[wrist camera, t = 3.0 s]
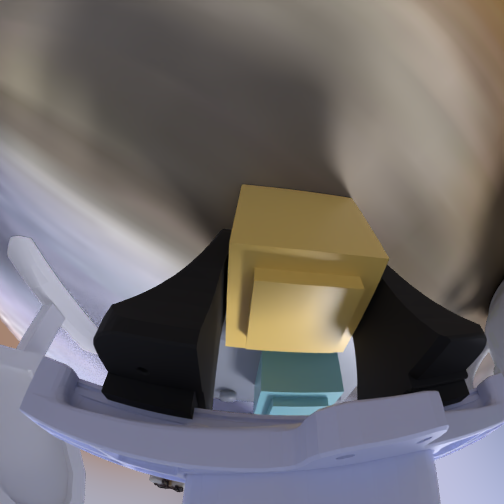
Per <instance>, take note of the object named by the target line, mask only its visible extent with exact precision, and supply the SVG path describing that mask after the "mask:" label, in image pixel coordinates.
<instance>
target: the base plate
mask: <svg viewBox="0 0 504 504" xmlns="http://www.w3.org/2000/svg"><path fill="white" fill-rule="evenodd" d="M225 343H226V315H225V319H224V323H223V327H222V333H221V338H220V346H219V354H218V362H217V370H216V378H215V387H214V397H213V398H217V399H220V400H221V401H224V402H235V401H247V402H254V407H253V414H261V415H311V414H312V413H314V412H315V411H317V410H318V409H321V408H324V407H327V406H330V405H333V404H336V403H340V402H343V401H344V400H345V399H346V398H347V396H348V395H349V394H350V393H351V392H352V390H353V389H354V388H355V387H356V386H357V368H356V357H355V349H354V342H353V337H351V339H350V341H349V342H348V344H347V346H346V348H345V349H344V351H343V352H334V353H303V352H281V351H265V350H252V349H246V348H239V347H229V346H225Z"/></svg>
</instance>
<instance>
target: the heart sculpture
mask: <svg viewBox="0 0 504 504" xmlns="http://www.w3.org/2000/svg"><path fill="white" fill-rule="evenodd" d="M7 256H8V258H9V259H10V261H11V262H12V264H13V265H14V267H15V268H16V270H17V271H18V273H19V274H20V276H21V277H22V279H23V280H24V281H25V283H26V284H27V286H28V287H29V288H30V290H31V291H32V292H33V294H34V295H35V296H36V297H37V299H38V300H39V301H40V303H41V304H42V305H43V306H42V308H41V309H40V311H39V312H38V314H37V315H36V317H35V318H34V320H33V321H32V323H31V325H30V326H29V328H28V329H27V331H26V333H25V334H24V336H23V338H22V339H21V341H20V343H19V345H18V346H17V348H16V349H14V348H10V347H7V346H4V345H0V504H84V496H85V479H86V473H85V469H84V465H83V460H82V456H81V452H80V449H79V448H77V447H75V446H73V445H71V444H69V443H66V442H64V441H62V440H60V439H58V438H56V437H55V436H53V435H51V434H50V433H48V432H47V431H46V430H44V429H43V428H41V427H40V426H39V425H37V424H36V423H34V422H33V421H32V420H31V419H29V418H28V417H27V416H25V415H24V414H23V413H22V412H20V409H19V408H20V405H21V403H22V401H23V398H24V396H25V394H26V391H27V389H28V387H29V385H30V383H31V380H32V378H33V376H34V374H35V372H36V370H37V368H38V366H39V364H40V362H41V360H42V358H43V357H44V356H45V354H46V352H47V350H48V349H49V347H50V345H51V343H52V341H53V339H54V338H55V336H56V334H57V332H58V330H59V329H60V327H62V328H63V330H64V331H65V332H66V333H67V334H68V335H69V336H70V337H71V338H72V339H73V340H74V341H75V342H76V343H77V344H78V345H79V346H80V347H81V348H82V349H83V350H84V351H87V352H90V353H93V354H96V355H98V354H97V352H96V350H95V348H94V345H93V338H94V336H95V334H96V332H97V330H98V328H97V326H96V325H95V324H94V323H93V322H92V321H91V320H90V318H89V317H88V316H87V315H86V314H85V312H84V311H83V310H82V309H81V308H80V306H79V305H78V304H77V303H76V301H75V300H74V299H73V298H72V296H71V295H70V294H69V292H68V291H67V290H66V288H65V287H64V286H63V284H62V283H61V282H60V280H59V279H58V278H57V276H56V275H55V273H54V272H53V271H52V269H51V268H50V266H49V265H48V263H47V262H46V260H45V259H44V257H43V256H42V254H41V253H40V251H39V250H38V248H37V246H36V245H35V243H34V242H33V240H32V239H31V238H27V237H23V236H12V237H11V238H10V240H9V243H8V248H7Z"/></svg>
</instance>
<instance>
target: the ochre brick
mask: <svg viewBox="0 0 504 504" xmlns="http://www.w3.org/2000/svg"><path fill="white" fill-rule="evenodd" d="M388 261H389V258H388V256H387V254H386V252H385V251H384V249H383V247H382V245H381V244H380V242H379V240H378V239H377V237H376V235H375V234H374V232H373V231H372V229H371V227H370V226H369V224H368V222H367V221H366V219H365V218H364V216H363V215H362V213H361V212H360V210H359V208H358V207H357V205H356V204H355V202H354V201H353V199H352V198H347V197H341V196H335V195H328V194H321V193H314V192H307V191H299V190H291V189H282V188H274V187H264V186H254V185H244V184H242V186H241V191H240V195H239V200H238V204H237V209H236V214H235V218H234V223H233V228H232V232H231V237H230V242H229V260H228V283H227V310H226V343H225V346H229V347H239V348H246V349H252V350H265V351H281V352H303V353H334V352H343V351H344V349H345V348H346V346H347V344H348V342H349V341H350V339H351V337H352V335H353V333H354V331H355V330H356V328H357V326H358V324H359V322H360V320H361V318H362V316H363V314H364V312H365V310H366V308H367V306H368V304H369V302H370V300H371V298H372V296H373V294H374V292H375V290H376V288H377V286H378V283H379V281H380V279H381V277H382V275H383V272H384V270H385V268H386V265H387V263H388Z"/></svg>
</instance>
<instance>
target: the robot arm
mask: <svg viewBox="0 0 504 504" xmlns="http://www.w3.org/2000/svg"><path fill="white" fill-rule="evenodd" d="M231 232H232V230H229V229H223V230H221V231H220V232H219V234H218V235H217V236H216V237H215V239H214V240H213V241H212V242H211V243H210V244H209V245H208V246H207V247H206V248H205V250H204V251H203V252H202V253H201V254H200V255H198V256H197V257H196V258H195V259H194V260H193V261H192V262H191V263H190V264H189V265H187V266H186V267H185V268H184V269H182V270H181V271H180V272H178V273H177V274H176V275H174V276H173V277H171V278H169V279H168V280H166V281H164V282H163V283H161V284H159V285H158V286H156V287H154V288H152V289H150V290H148V291H146V292H144V293H142V294H139V295H137V296H135V297H132V298H130V299H127V300H124V301H121V302H119V303H116V304H113V305H111V307H110V308H109V310H108V311H107V313H106V314H105V316H104V318H103V320H102V322H101V324H100V326H99V328H98V330H97V332H96V334H95V336H94V338H93V345H94V348H95V350H96V352H97V354H98V356H99V358H100V359H101V361H102V363H103V364H104V366H105V368H106V369H107V371H108V374H107V377H106V379H105V382H104V385H103V386H100V385H97V384H94V383H91V382H88V381H85V380H82V379H79V378H78V376H77V374H76V373H75V371H74V370H73V369H72V368H70V367H69V366H68V365H66V364H64V363H61V362H58V361H56V360H53V359H51V358H48V357H46V356H44V357H43V358H42V360H41V362H40V364H39V366H38V368H37V370H36V372H35V374H34V376H33V378H32V380H31V383H30V385H29V387H28V389H27V391H26V394H25V396H24V398H23V401H22V403H21V405H20V408H19V409H20V412H22V413H23V414H24V415H25V416H27V417H28V418H29V419H31V420H32V421H33V422H34V423H36V424H37V425H39V426H40V427H41V428H43V429H44V430H46V431H47V432H48V433H50V434H51V435H53V436H55V437H56V438H58V439H60V440H62V441H64V442H66V443H69V444H71V445H73V446H75V447H77V448H79V449H81V450H84V451H86V452H88V453H91V454H93V455H95V456H98V457H100V458H103V459H105V460H108V461H110V462H113V463H116V464H119V465H122V466H124V467H127V468H130V469H134V470H136V471H139V472H143V473H146V474H150V475H153V476H157V477H161V478H165V479H169V480H173V481H177V482H182V483H185V488H184V496H183V503H182V504H440V495H439V487H438V480H437V473H436V467H435V462H434V461H435V460H437V459H439V458H442V457H444V456H447V455H449V454H451V453H453V452H456V451H458V450H460V449H462V448H464V447H466V446H468V445H470V444H472V443H474V442H476V441H478V440H480V439H482V438H484V437H485V436H487V435H488V434H490V433H491V432H493V431H494V430H496V429H497V428H499V427H500V426H502V425H503V424H504V377H503V375H502V373H498V374H495V375H492V376H490V377H488V378H486V379H485V380H484V381H482V382H481V383H480V384H479V385H478V386H477V388H474V389H471V390H468V387H467V385H466V382H465V379H467V378H468V373H467V371H466V369H467V368H468V367H469V366H470V365H471V364H472V363H473V362H474V361H475V360H476V359H477V358H478V356H479V355H480V354H481V353H482V351H483V350H484V348H485V346H486V342H487V338H486V335H485V334H484V332H483V330H482V328H481V326H480V325H479V324H476V323H474V322H472V321H470V320H467V319H465V318H463V317H460V316H458V315H457V314H455V313H453V312H451V311H449V310H447V309H445V308H444V307H442V306H440V305H439V304H437V303H435V302H434V301H432V300H431V299H429V298H428V297H426V296H425V295H423V294H422V293H421V292H419V291H418V290H417V289H415V288H414V287H413V286H411V285H410V284H409V283H408V282H406V281H405V280H404V279H403V278H402V277H401V276H399V275H398V274H397V273H396V272H395V271H394V270H393V269H391V268H390V267H389V266H388V265H386V268H385V270H384V272H383V275H382V277H381V279H380V281H379V283H378V286H377V288H376V290H375V292H374V294H373V296H372V298H371V300H370V302H369V304H368V306H367V308H366V310H365V312H364V314H363V316H362V318H361V320H360V322H359V324H358V326H357V328H356V330H355V331H354V333H353V335H352V337H353V342H354V349H355V357H356V368H357V395H358V399H357V400H354V401H348V402H342V403H336V404H333V405H330V406H327V407H324V408H321V409H318V410H317V411H315V412H314V413H312V414H311V415H261V414H246V413H234V412H224V411H215V410H212V407H213V397H214V387H215V378H216V370H217V362H218V354H219V346H220V338H221V333H222V327H223V323H224V319H225V315H226V310H227V283H228V260H229V242H230V237H231Z"/></svg>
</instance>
